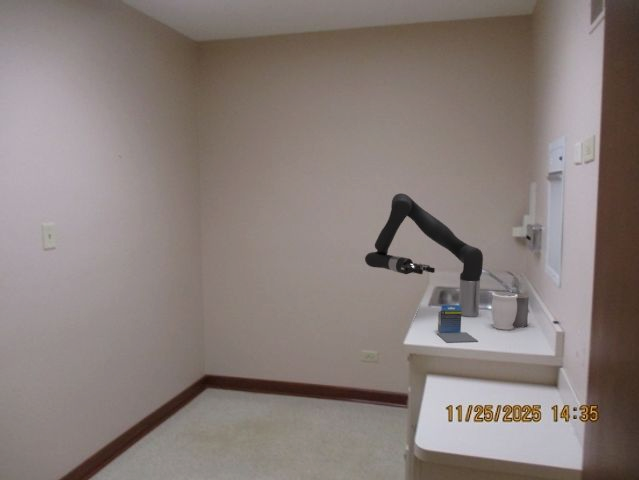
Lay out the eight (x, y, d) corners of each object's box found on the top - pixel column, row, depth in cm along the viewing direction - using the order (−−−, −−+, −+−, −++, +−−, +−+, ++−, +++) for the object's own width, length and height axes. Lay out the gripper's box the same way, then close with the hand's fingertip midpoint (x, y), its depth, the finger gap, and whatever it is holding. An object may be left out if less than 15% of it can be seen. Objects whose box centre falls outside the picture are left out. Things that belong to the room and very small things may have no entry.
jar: (500, 331, 202) (501, 297, 201) (485, 325, 212) (487, 292, 211) (521, 329, 205) (523, 296, 204) (505, 323, 215) (507, 290, 213)
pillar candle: (506, 320, 220) (507, 288, 219) (528, 323, 215) (530, 290, 214) (502, 325, 212) (503, 292, 210) (525, 328, 207) (527, 295, 205)
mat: (436, 334, 199) (436, 333, 199) (466, 333, 200) (466, 332, 200) (446, 342, 187) (446, 341, 187) (478, 341, 189) (478, 340, 189)
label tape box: (457, 330, 204) (458, 302, 203) (460, 333, 200) (462, 304, 199) (437, 330, 204) (438, 302, 203) (440, 333, 200) (441, 304, 198)
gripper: (391, 257, 219) (419, 264, 206) (411, 256, 228) (438, 262, 216) (389, 273, 220) (417, 280, 207) (409, 271, 229) (437, 278, 217)
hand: (428, 271), depth 212 cm, fingers open, 8 cm apart
